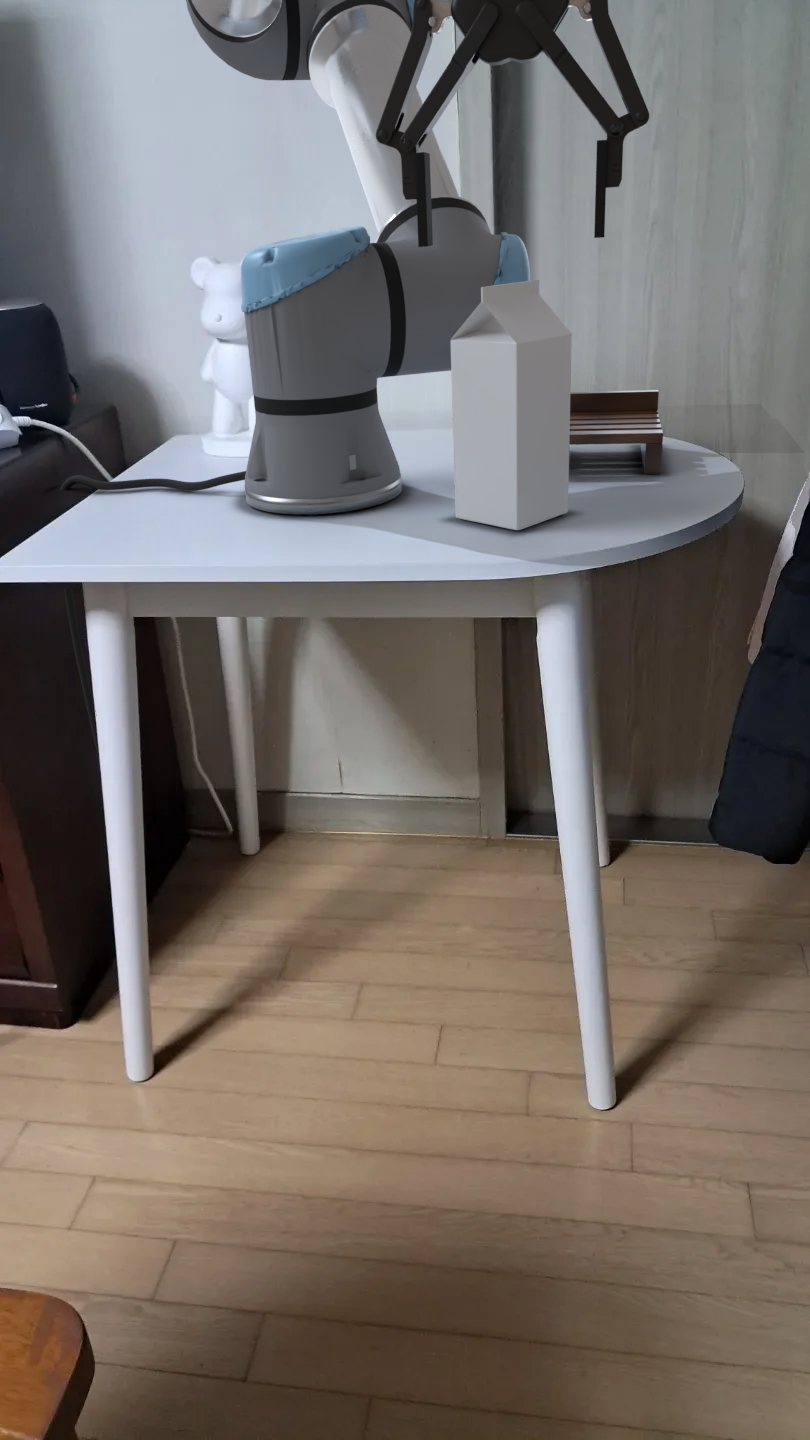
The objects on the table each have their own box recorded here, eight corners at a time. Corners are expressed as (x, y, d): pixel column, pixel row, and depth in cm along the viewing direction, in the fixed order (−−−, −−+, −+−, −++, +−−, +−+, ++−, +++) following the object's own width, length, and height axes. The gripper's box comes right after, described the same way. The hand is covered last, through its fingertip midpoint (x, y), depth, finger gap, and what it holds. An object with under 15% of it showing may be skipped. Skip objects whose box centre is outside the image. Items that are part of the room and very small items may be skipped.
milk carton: (568, 514, 91) (573, 280, 82) (517, 532, 86) (517, 287, 78) (506, 502, 95) (504, 279, 87) (454, 519, 91) (447, 286, 82)
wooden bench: (528, 475, 104) (529, 414, 102) (536, 448, 116) (536, 392, 113) (660, 474, 102) (664, 411, 99) (655, 446, 113) (658, 389, 111)
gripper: (322, -89, 70) (346, 251, 80) (699, -131, 66) (677, 234, 75) (346, -64, 77) (365, 247, 86) (690, -101, 73) (671, 231, 82)
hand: (511, 242), depth 81 cm, fingers open, 13 cm apart
